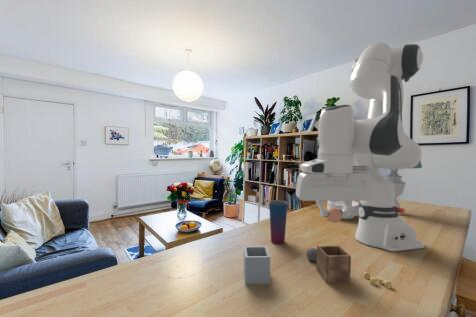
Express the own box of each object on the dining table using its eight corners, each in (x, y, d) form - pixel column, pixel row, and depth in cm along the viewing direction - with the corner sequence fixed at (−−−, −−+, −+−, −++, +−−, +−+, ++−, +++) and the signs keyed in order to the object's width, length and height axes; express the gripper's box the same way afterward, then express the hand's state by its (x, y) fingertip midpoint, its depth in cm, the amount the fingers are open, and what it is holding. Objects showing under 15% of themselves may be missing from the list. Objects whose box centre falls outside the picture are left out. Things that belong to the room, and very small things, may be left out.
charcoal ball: (316, 257, 72) (317, 245, 72) (321, 264, 68) (322, 251, 68) (304, 257, 72) (304, 245, 72) (309, 264, 68) (309, 251, 68)
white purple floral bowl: (365, 221, 110) (365, 205, 109) (334, 221, 110) (334, 205, 109) (350, 212, 125) (350, 198, 124) (322, 212, 125) (323, 198, 125)
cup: (287, 246, 81) (287, 205, 80) (268, 244, 82) (268, 204, 82) (286, 238, 88) (287, 200, 87) (269, 237, 89) (269, 199, 88)
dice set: (392, 291, 56) (392, 284, 56) (370, 289, 57) (370, 282, 57) (382, 280, 61) (383, 273, 61) (362, 278, 62) (362, 271, 62)
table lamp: (423, 222, 109) (426, 139, 107) (366, 214, 122) (368, 140, 120) (416, 211, 129) (419, 141, 127) (369, 205, 142) (371, 142, 140)
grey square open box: (266, 271, 64) (266, 246, 64) (270, 285, 57) (270, 257, 57) (243, 272, 64) (243, 246, 63) (245, 285, 57) (245, 257, 57)
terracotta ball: (337, 220, 63) (337, 205, 63) (344, 224, 59) (345, 209, 59) (323, 220, 63) (323, 205, 62) (329, 224, 59) (330, 209, 58)
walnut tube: (338, 270, 65) (338, 245, 64) (350, 284, 58) (350, 256, 58) (316, 271, 64) (316, 245, 64) (325, 284, 58) (326, 256, 58)
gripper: (365, 164, 64) (364, 212, 64) (294, 164, 63) (293, 213, 63) (380, 166, 57) (378, 219, 58) (301, 166, 57) (300, 220, 57)
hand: (333, 216), depth 61 cm, fingers closed on terracotta ball, 4 cm apart
